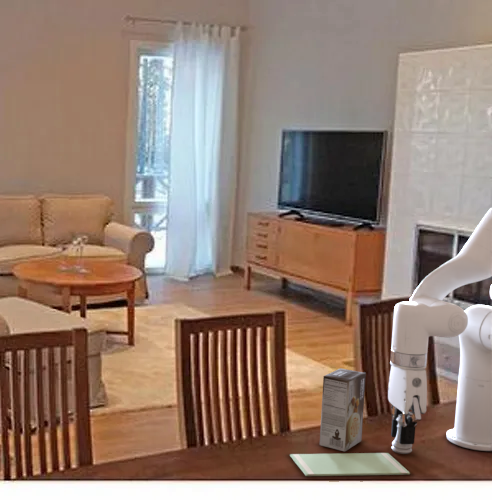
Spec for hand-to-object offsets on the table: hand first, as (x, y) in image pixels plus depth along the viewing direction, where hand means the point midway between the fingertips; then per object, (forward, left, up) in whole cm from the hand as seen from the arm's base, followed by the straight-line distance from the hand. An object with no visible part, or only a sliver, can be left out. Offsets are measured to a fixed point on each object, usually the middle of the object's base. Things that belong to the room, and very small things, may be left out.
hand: (402, 439), depth 185 cm
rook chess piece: (0, 0, -3) cm, 3 cm away
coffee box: (+12, -5, -3) cm, 13 cm away
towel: (+15, +8, -3) cm, 17 cm away
